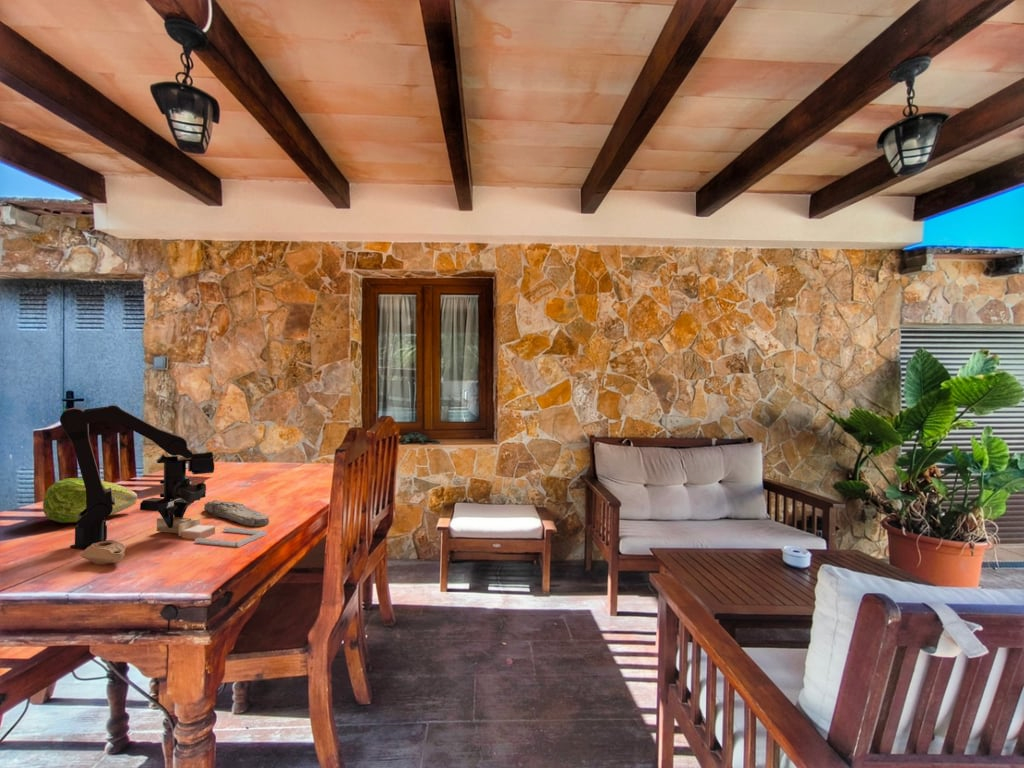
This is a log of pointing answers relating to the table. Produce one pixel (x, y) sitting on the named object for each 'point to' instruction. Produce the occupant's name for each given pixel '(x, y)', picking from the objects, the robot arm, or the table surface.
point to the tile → (198, 532)
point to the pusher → (177, 524)
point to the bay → (255, 535)
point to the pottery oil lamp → (104, 552)
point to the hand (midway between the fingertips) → (174, 526)
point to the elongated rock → (236, 513)
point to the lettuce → (80, 499)
